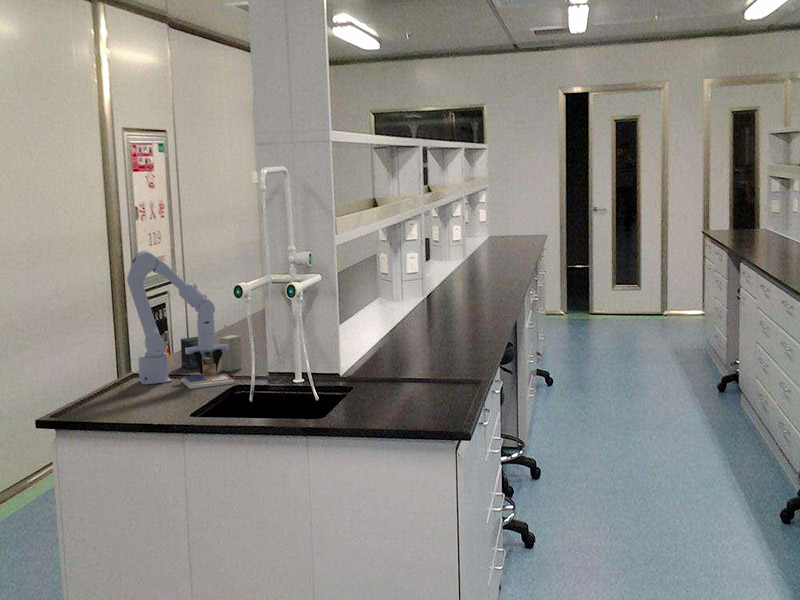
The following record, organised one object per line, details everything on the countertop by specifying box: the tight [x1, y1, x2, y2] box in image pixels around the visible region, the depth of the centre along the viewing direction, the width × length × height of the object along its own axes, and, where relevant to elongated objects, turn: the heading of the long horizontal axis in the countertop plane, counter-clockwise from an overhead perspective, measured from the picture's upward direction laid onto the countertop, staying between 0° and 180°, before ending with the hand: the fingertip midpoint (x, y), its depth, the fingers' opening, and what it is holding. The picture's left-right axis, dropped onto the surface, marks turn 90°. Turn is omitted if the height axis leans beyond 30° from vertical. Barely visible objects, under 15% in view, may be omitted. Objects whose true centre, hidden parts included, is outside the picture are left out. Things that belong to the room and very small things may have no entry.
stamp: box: [200, 358, 217, 376], centre depth 296 cm, size 4×4×6 cm
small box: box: [180, 336, 213, 370], centre depth 314 cm, size 11×6×10 cm, turn 129°
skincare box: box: [219, 334, 243, 372], centre depth 306 cm, size 6×4×12 cm
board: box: [181, 373, 236, 390], centre depth 287 cm, size 15×12×2 cm
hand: (208, 372), depth 297 cm, fingers closed on stamp, 4 cm apart
